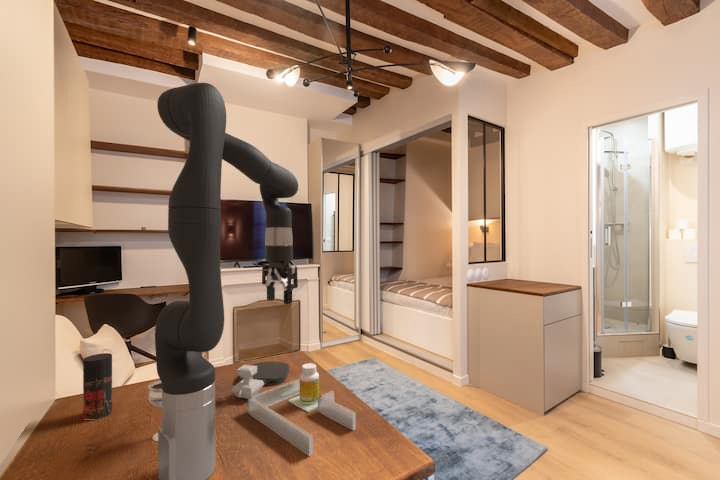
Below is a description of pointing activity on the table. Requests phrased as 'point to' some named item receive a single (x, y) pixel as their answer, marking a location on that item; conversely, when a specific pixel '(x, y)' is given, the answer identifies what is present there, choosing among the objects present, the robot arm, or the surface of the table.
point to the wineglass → (155, 397)
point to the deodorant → (97, 386)
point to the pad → (303, 406)
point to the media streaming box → (271, 372)
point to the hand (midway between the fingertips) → (279, 302)
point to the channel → (286, 428)
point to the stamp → (247, 382)
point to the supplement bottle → (309, 384)
